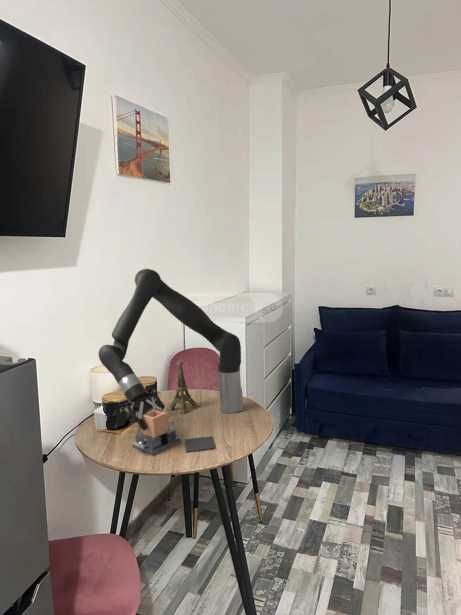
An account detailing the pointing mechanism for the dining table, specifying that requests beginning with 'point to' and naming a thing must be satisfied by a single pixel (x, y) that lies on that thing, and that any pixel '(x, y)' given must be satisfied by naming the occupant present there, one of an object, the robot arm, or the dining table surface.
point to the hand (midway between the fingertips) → (155, 425)
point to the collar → (155, 423)
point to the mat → (199, 444)
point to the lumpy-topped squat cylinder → (100, 418)
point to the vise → (155, 442)
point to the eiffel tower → (182, 393)
